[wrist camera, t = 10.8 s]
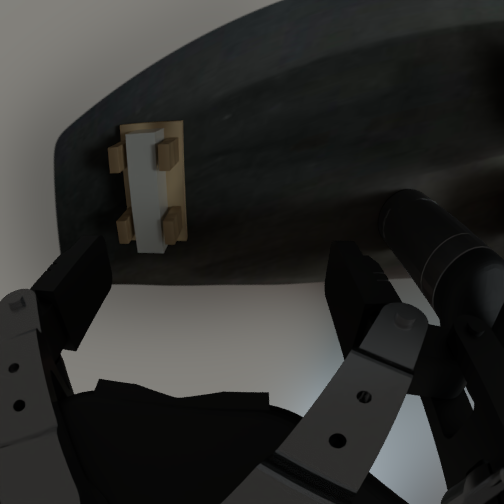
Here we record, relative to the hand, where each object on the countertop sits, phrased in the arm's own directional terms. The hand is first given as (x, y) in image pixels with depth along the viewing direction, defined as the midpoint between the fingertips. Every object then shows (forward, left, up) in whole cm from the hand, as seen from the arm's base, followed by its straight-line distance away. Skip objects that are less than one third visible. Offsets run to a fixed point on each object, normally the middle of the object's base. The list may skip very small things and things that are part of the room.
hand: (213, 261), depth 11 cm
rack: (+11, +6, -30) cm, 33 cm away
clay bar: (+11, +6, -29) cm, 32 cm away
